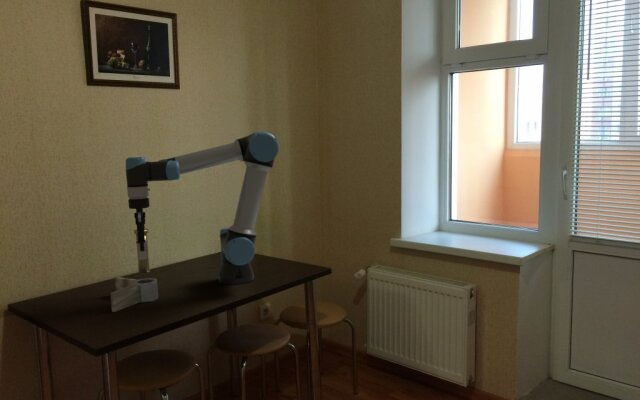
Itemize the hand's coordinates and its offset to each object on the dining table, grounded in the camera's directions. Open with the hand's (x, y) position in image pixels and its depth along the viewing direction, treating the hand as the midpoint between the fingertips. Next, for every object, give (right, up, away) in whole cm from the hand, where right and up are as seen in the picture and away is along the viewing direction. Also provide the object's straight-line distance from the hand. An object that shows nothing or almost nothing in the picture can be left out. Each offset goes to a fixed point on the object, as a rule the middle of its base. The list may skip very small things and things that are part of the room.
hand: (143, 257), depth 202 cm
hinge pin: (0, -6, +1) cm, 6 cm away
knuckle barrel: (+1, -16, +2) cm, 16 cm away
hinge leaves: (-10, -17, -1) cm, 20 cm away
